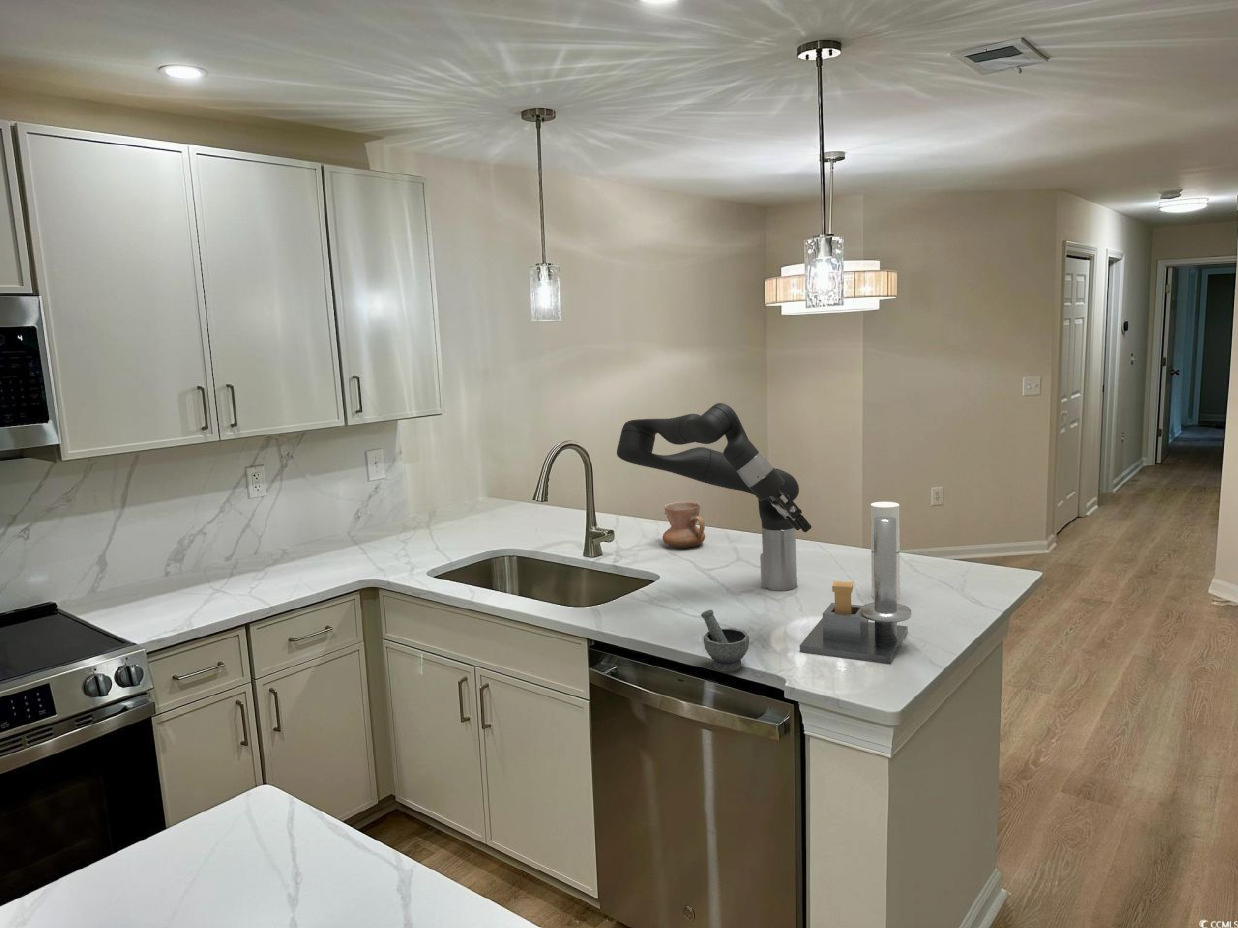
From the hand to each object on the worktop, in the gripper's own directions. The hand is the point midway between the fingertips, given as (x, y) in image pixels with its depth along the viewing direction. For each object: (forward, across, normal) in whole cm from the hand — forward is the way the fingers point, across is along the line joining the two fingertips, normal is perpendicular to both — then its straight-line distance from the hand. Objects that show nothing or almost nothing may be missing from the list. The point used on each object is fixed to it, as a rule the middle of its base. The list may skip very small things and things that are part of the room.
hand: (804, 529), depth 202 cm
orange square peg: (+24, +2, -9) cm, 26 cm away
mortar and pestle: (+10, +12, -34) cm, 38 cm away
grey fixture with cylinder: (+27, +4, -7) cm, 29 cm away
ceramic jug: (-6, -90, -24) cm, 93 cm away
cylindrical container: (+32, -27, +8) cm, 43 cm away
